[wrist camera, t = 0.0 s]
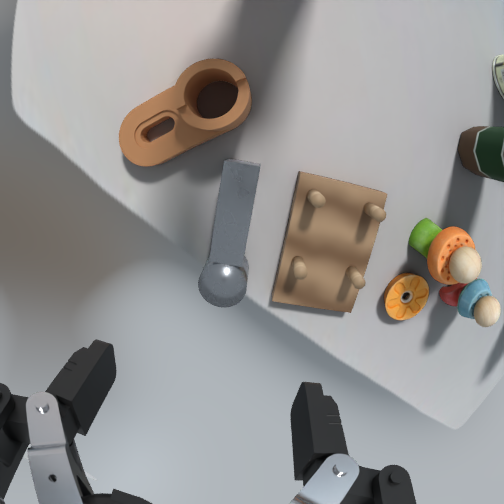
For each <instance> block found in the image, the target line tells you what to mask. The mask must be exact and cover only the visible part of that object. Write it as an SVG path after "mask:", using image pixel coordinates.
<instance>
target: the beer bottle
mask: <svg viewBox="0 0 504 504" xmlns="http://www.w3.org/2000/svg"><path fill="white" fill-rule="evenodd" d="M458 152H459V155H460V158H461V161H462V164H463V166H464V167H465V168H466V169H468V170H470V171H471V172H473V173H474V174H476V175H479V176H482V177H486V178H490V179H494V180H498V181H502V182H504V127H486V126H479V127H472V128H470V129H468V130H466V131H464V132H462V133H461V137H460V142H459V146H458Z"/></svg>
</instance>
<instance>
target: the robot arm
mask: <svg viewBox="0 0 504 504" xmlns="http://www.w3.org/2000/svg"><path fill="white" fill-rule="evenodd" d="M115 378H116V363H115V357H114V348H113V345H112V344H110V343H106V342H103V341H100V340H95V341H93V343H92V344H91V345H90V347H89V348H88V349H87V348H84V347H83V348H81V349H80V350H78V351H77V352H75V353H74V354H73V355H72V356H71V358H70V359H69V360H68V362H67V363H66V364H65V366H64V368H62V370H61V371H60V372H59V374H58V375H57V376H56V378H55V379H54V380H53V382H52V383H51V384H50V386H49V387H48V389H47V390H46V391H45V392H37V393H34V394H32V395H31V396H30V397H23V396H18V395H13V394H11V392H10V390H9V388H8V387H7V386H6V385H4V384H2V383H0V504H5V502H4V500H3V499H4V497H5V495H6V493H7V490H8V488H9V485H10V483H11V481H12V479H13V477H14V474H15V472H16V470H17V468H18V466H19V464H20V461H21V459H22V457H23V455H24V453H25V451H26V449H27V447H28V445H29V444H31V448H28V459H29V464H30V469H31V474H32V477H33V482H34V486H35V490H36V494H37V497H38V501H39V504H152V503H150V502H148V501H146V500H144V499H142V498H140V497H137V496H134V495H131V494H127V493H124V492H121V491H119V490H116V489H113V492H112V494H103V493H102V494H94V492H93V490H92V488H91V486H90V484H89V482H88V479H87V477H86V475H85V472H84V469H83V466H82V463H81V460H80V457H79V454H78V451H77V447H76V443H75V440H74V437H75V436H76V433H79V434H82V435H84V436H86V434H87V432H88V430H89V428H90V426H91V424H92V422H93V420H94V418H95V416H96V415H97V412H98V411H99V409H100V407H101V405H102V403H103V401H104V400H105V397H106V396H107V394H108V392H109V390H110V388H111V387H112V385H113V383H114V381H115ZM339 415H340V414H339V410H338V406H337V404H336V403H335V401H334V400H333V399H332V397H331V396H324V395H323V390H322V386H321V384H320V383H310V382H302V384H301V385H300V388H299V390H298V393H297V395H296V397H295V400H294V402H293V405H292V409H291V430H292V444H293V445H292V446H293V461H294V476H295V480H303V485H304V487H303V489H302V490H301V491H300V492H299V493H298V494H297V495H296V496H295V498H294V499H293V500H292V501H291V502H290V503H289V504H416V500H415V496H414V492H413V487H412V483H411V479H410V476H409V474H408V472H407V471H406V470H405V469H404V468H402V467H401V466H398V465H389V466H386V467H384V468H383V469H382V470H381V471H379V470H374V469H369V468H365V467H361V466H359V465H358V464H357V462H356V461H355V460H354V459H353V458H352V457H350V456H349V454H348V450H347V446H346V441H345V437H344V432H343V428H342V425H341V419H340V417H339Z"/></svg>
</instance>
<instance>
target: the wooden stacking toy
mask: <svg viewBox="0 0 504 504" xmlns="http://www.w3.org/2000/svg"><path fill="white" fill-rule="evenodd" d="M409 245H410V246H411V247H413V248H414V249H415V250H417V251H418V252H419V253H421V254H422V255H423V256H424V257H425V258H427V264H428V269H429V272H430V274H431V276H432V277H433V278H434V279H435V280H437V281H438V282H440V283H443V284H448V285H451V286H449V287H442V288H441V289H440V290H439V294H440V297H441V299H442V300H443V301H444V302H445V303H446V304H448V305H451V306H457V308H458V312H459V314H460V315H461V316H463V317H467V318H471V319H475V320H476V322H477V323H478V324H479V325H480V326H482V327H489V326H492V325H493V324H495V323H496V322H497V320H498V318H499V316H500V304H499V302H498V301H497V299H496V298H494V297H492V294H491V291H490V288H489V286H488V283H487V282H486V281H485V280H484V279H477V277H478V275H479V273H480V271H481V266H482V265H481V258H480V256H479V254H478V252H477V251H476V250H475V245H474V242H473V240H472V239H471V237H470V236H469V235H468V234H467V233H466V232H465V231H464V230H463V229H461V228H459V227H448V228H446V229H444V230H442V229H441V228H439V227H438V226H437V225H436V224H435V223H433V222H432V221H431V220H429V219H428V218H425V219H423V220H421V221H420V222H419V223H418V224H417V225H416V226H415V227H414V229H413V230H412V232H411V235H410V238H409ZM406 292H408V293H409V294H408V295H407V297H405V298H402V296H403V294H404V293H406ZM428 296H429V286H428V284H427V282H426V280H425V279H424V278H423V277H421V276H418V275H415V274H412V273H403V274H400V275H398V276H396V277H395V278H394V279H393V280H392V281H391V282H390V283H389V284H388V286H387V288H386V290H385V293H384V302H385V308H386V311H387V313H388V315H389V316H390V317H391V318H393V319H396V320H406V319H409V318H412V317H414V316H415V315H417V314H418V313H419V312H420V311H421V310H422V309H423V307H424V306H425V304H426V302H427V300H428Z"/></svg>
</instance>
